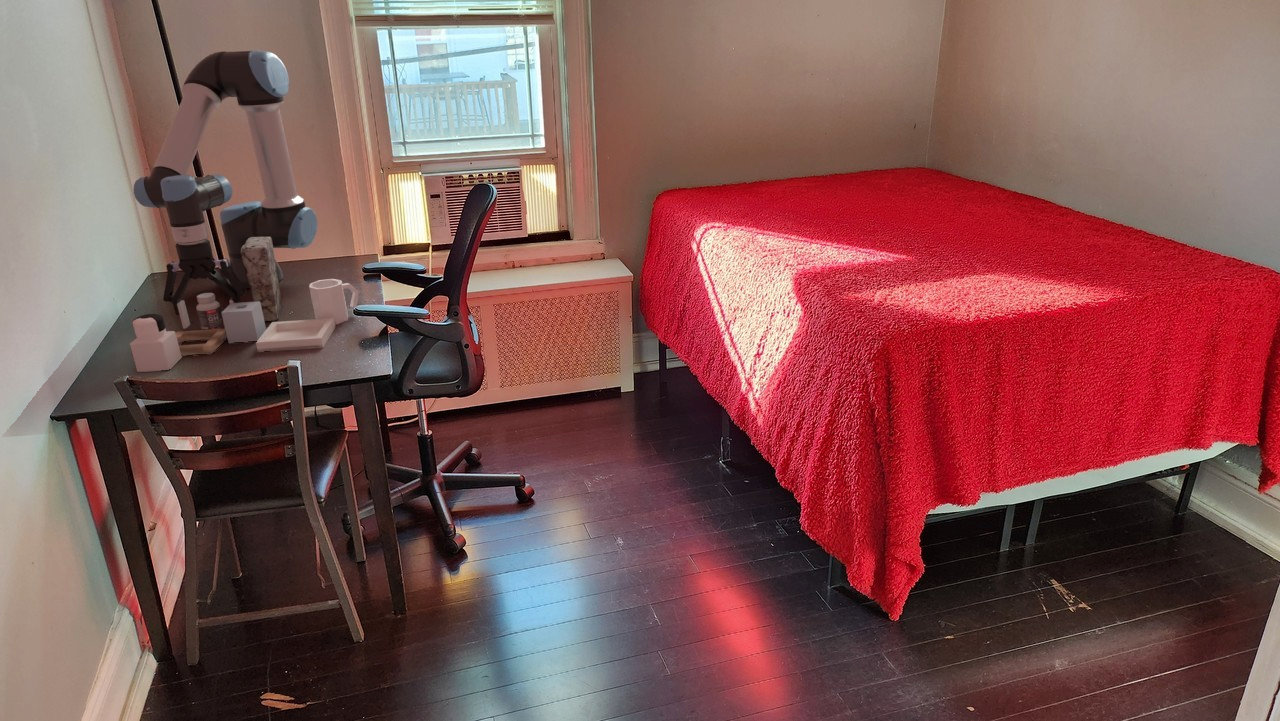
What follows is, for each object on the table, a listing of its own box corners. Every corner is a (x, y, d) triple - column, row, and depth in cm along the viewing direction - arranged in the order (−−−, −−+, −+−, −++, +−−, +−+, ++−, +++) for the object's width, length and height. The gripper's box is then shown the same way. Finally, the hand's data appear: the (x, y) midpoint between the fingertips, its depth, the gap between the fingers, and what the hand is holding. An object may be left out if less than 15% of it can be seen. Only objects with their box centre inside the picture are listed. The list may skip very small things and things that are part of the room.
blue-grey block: (237, 333, 210) (230, 303, 207) (266, 331, 211) (260, 301, 208) (228, 343, 204) (221, 312, 201) (258, 341, 205) (251, 310, 202)
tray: (274, 331, 211) (272, 322, 210) (335, 327, 212) (333, 318, 211) (257, 352, 198) (255, 342, 197) (323, 347, 200) (321, 338, 199)
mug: (321, 328, 212) (314, 291, 208) (310, 319, 219) (303, 283, 215) (367, 317, 219) (361, 281, 215) (355, 308, 225) (349, 273, 221)
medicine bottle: (151, 360, 195) (137, 312, 191) (182, 358, 196) (170, 310, 191) (137, 372, 189) (122, 323, 184) (169, 371, 189) (156, 321, 185)
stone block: (285, 319, 219) (269, 245, 211) (256, 324, 216) (239, 248, 208) (285, 304, 230) (270, 233, 222) (258, 308, 228) (242, 236, 220)
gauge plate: (179, 339, 208) (177, 331, 207) (229, 335, 209) (227, 328, 208) (159, 357, 197) (157, 350, 196) (213, 354, 198) (211, 346, 197)
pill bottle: (214, 336, 209) (205, 299, 205) (197, 334, 210) (188, 297, 207) (230, 328, 214) (222, 292, 210) (213, 327, 215) (204, 290, 211)
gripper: (133, 248, 198) (156, 333, 207) (238, 242, 201) (257, 326, 209) (146, 240, 205) (168, 322, 213) (248, 234, 207) (266, 316, 216)
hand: (212, 324), depth 211 cm, fingers open, 12 cm apart
